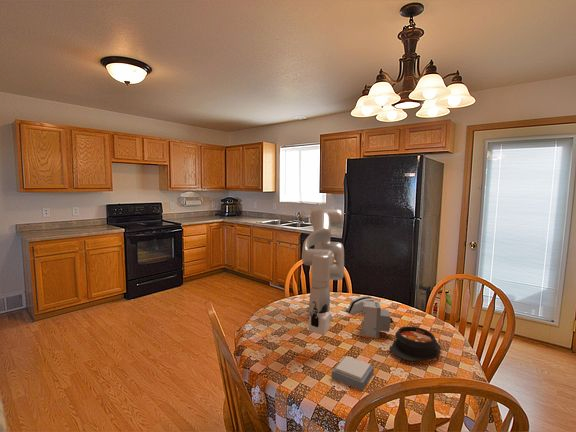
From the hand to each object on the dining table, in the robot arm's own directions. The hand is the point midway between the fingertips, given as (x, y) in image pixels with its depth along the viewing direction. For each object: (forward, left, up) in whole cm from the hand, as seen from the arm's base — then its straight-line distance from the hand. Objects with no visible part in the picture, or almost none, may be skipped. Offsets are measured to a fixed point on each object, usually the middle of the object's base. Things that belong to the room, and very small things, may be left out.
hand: (319, 321), depth 129 cm
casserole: (+34, +25, -14) cm, 45 cm away
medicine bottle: (0, 0, -4) cm, 4 cm away
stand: (+18, -7, -14) cm, 24 cm away
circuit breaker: (+15, +31, -14) cm, 38 cm away
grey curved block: (-1, +54, -14) cm, 56 cm away
